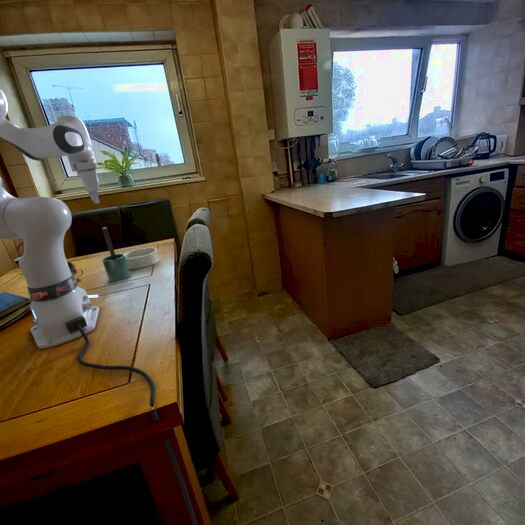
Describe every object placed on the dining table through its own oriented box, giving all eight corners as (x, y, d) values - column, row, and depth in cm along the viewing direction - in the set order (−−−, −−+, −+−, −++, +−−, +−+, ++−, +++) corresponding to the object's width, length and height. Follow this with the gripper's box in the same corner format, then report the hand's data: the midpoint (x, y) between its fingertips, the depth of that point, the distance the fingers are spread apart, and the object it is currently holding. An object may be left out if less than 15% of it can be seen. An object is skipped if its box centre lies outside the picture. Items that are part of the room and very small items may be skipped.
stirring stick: (123, 277, 120) (108, 227, 112) (117, 279, 119) (101, 229, 111) (122, 275, 122) (107, 226, 114) (116, 277, 121) (100, 228, 113)
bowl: (163, 263, 134) (160, 251, 132) (128, 273, 126) (124, 261, 124) (154, 256, 147) (151, 245, 145) (122, 265, 138) (118, 253, 136)
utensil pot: (132, 278, 119) (126, 256, 116) (110, 284, 115) (103, 262, 112) (128, 273, 126) (122, 252, 123) (108, 279, 122) (101, 257, 118)
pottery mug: (84, 271, 137) (78, 260, 131) (74, 287, 130) (68, 276, 124) (58, 268, 136) (51, 257, 130) (47, 283, 129) (39, 272, 123)
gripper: (73, 167, 111) (85, 202, 116) (75, 165, 95) (88, 205, 100) (91, 165, 114) (101, 199, 119) (96, 163, 98) (108, 202, 103)
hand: (96, 202), depth 109 cm, fingers open, 8 cm apart
